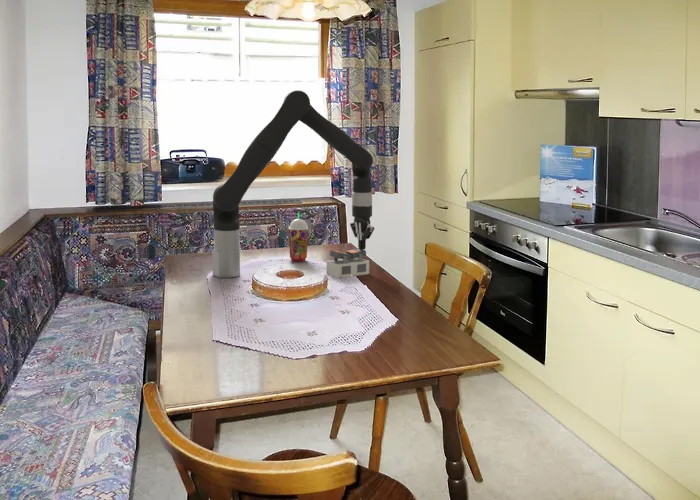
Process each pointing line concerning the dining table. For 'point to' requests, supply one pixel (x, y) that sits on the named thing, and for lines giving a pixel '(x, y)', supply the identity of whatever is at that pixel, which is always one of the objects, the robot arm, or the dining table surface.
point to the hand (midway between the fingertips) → (361, 249)
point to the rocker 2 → (356, 253)
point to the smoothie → (298, 240)
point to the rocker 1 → (339, 254)
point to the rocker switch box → (347, 267)
